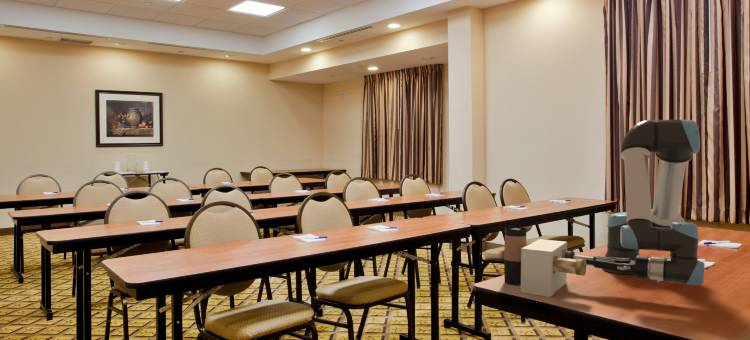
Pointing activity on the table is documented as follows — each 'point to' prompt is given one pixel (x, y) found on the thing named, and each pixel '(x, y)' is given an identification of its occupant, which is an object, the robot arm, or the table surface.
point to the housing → (541, 267)
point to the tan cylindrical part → (568, 254)
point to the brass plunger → (569, 265)
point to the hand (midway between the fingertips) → (573, 259)
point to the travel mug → (513, 254)
